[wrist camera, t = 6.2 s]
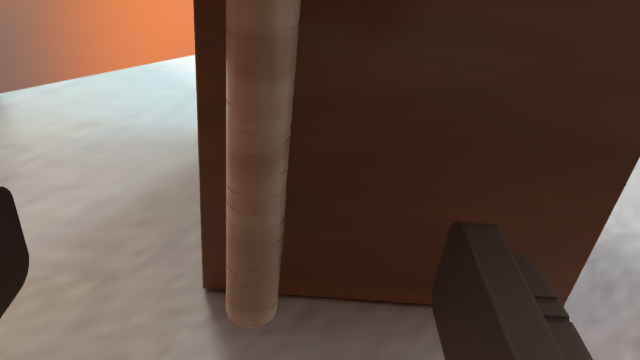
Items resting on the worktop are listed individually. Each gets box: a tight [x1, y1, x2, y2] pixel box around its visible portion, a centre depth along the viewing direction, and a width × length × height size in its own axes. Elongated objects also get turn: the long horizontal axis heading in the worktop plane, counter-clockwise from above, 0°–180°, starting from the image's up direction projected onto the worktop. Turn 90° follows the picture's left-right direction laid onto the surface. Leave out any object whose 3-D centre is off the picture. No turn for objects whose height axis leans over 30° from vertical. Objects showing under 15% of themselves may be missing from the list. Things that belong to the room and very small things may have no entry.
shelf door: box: [193, 0, 640, 328], centre depth 15 cm, size 6×16×20 cm, turn 90°
